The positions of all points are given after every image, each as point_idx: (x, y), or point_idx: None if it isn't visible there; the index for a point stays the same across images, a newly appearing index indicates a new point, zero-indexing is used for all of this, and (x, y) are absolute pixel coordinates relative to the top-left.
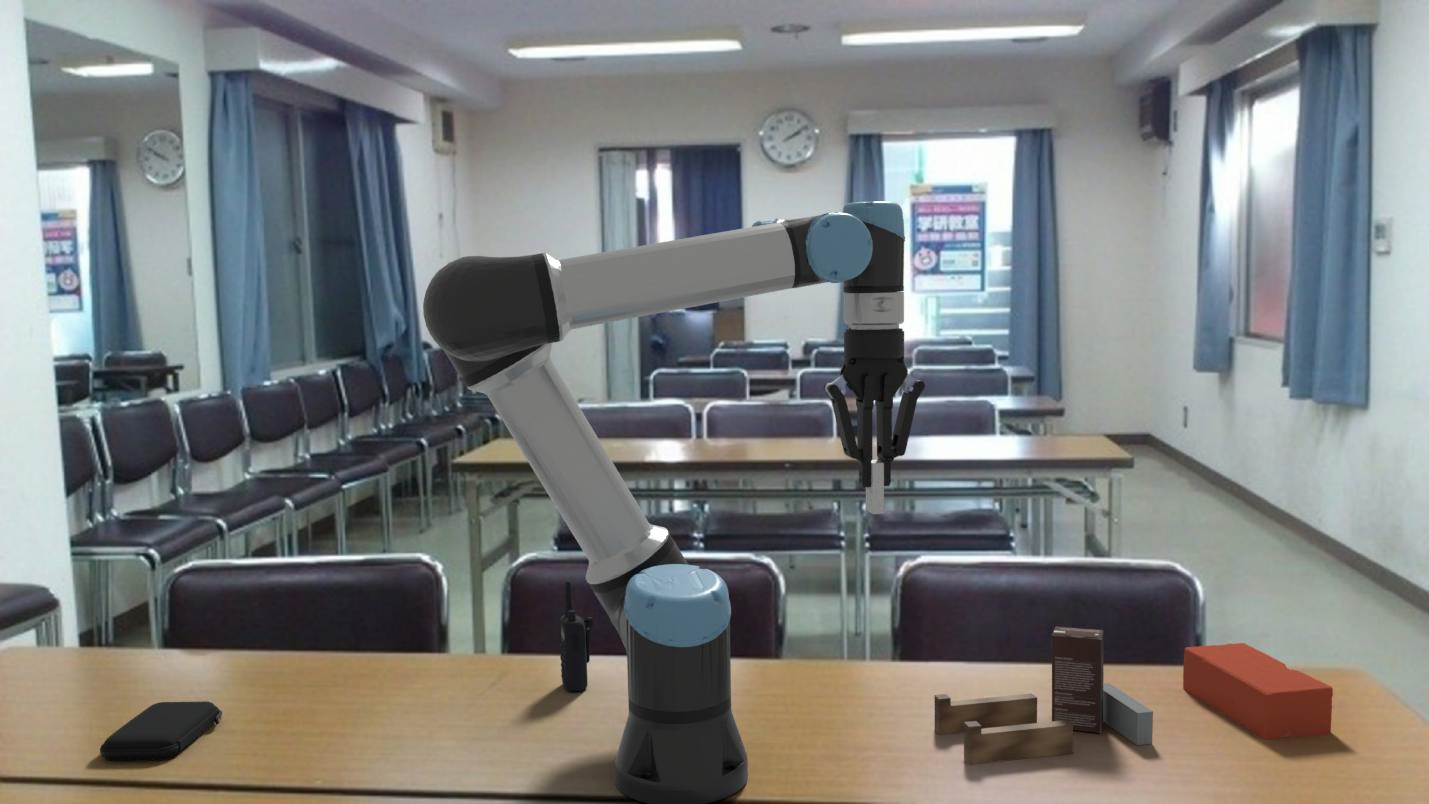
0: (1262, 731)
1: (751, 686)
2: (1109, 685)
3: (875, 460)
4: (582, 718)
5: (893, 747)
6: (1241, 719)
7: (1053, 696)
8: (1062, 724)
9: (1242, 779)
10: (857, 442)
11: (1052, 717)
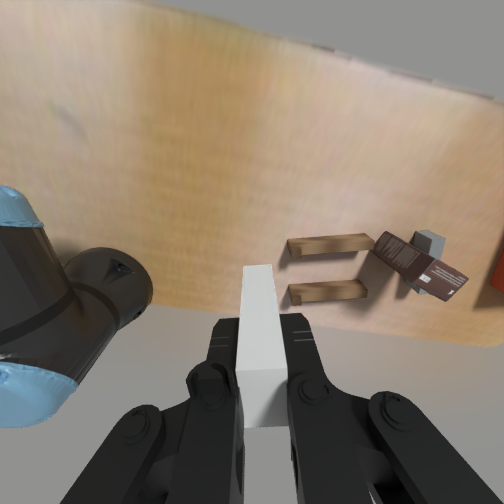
0: (494, 283)
1: (150, 109)
2: (441, 243)
3: (274, 384)
4: (7, 170)
5: (250, 261)
6: (501, 263)
7: (382, 259)
8: (360, 295)
9: (425, 326)
10: (171, 486)
11: (373, 252)
